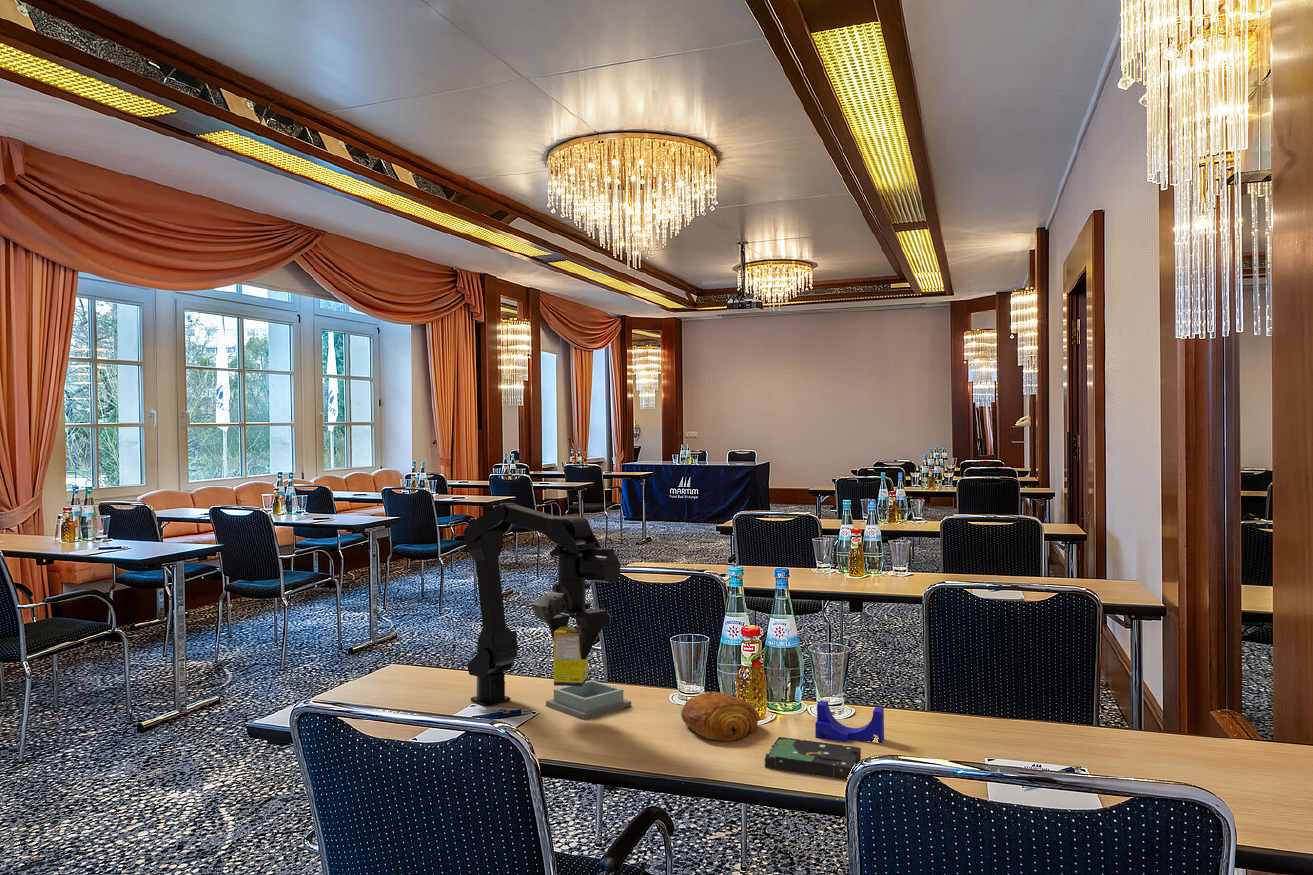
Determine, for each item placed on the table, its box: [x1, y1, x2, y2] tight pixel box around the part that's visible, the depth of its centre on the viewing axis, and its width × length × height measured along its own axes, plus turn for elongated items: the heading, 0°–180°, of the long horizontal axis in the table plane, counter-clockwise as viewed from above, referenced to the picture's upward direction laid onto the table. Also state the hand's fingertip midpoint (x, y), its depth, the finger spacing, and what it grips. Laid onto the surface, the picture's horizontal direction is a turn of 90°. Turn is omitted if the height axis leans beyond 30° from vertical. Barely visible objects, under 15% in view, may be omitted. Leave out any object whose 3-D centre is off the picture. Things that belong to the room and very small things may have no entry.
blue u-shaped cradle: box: [814, 700, 885, 744], centre depth 154 cm, size 12×4×6 cm, turn 66°
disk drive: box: [764, 736, 862, 781], centre depth 141 cm, size 10×3×15 cm
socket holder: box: [545, 679, 632, 720], centre depth 174 cm, size 13×13×4 cm
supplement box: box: [553, 625, 589, 687], centre depth 166 cm, size 6×6×11 cm
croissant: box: [680, 691, 761, 742], centre depth 159 cm, size 14×16×8 cm
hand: (571, 655), depth 166 cm, fingers closed on supplement box, 8 cm apart
